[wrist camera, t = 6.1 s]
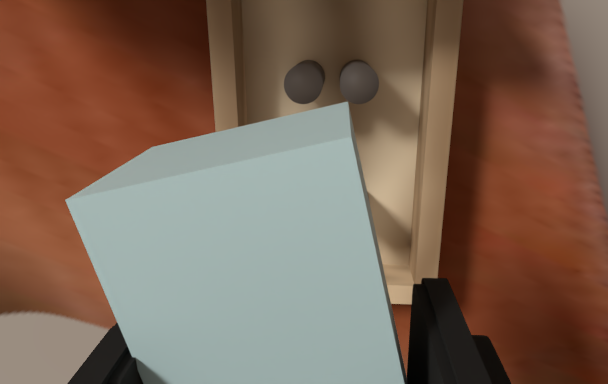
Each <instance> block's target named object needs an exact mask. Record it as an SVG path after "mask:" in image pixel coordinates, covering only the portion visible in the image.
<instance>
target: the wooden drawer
mask: <svg viewBox="0 0 608 384" xmlns="http://www.w3.org/2000/svg"><path fill="white" fill-rule="evenodd" d="M206 6H207V20H208V34H209V48H210V61H211V75H212V89H213V103H214V116H215V130H216V132H219V131H223V130H228V129H232V128H236V127H240V126H245V125H249V124H253V123H258V122H262V121H266V120H271V119H275V118H279V117H283V116H288V115H292V114H296V113H301V112H305V111H309V110H313V109H318V108H322V107H326V106H331V105H335V104H339V103H343V102H348V104H349V109H350V113H351V118H352V123H353V128H354V132H355V137H356V142H357V146H358V151H359V156H360V161H361V165H362V170H363V175H364V179H365V184H366V189H367V194H368V198H369V203H370V208H371V212H372V217H373V222H374V227H375V231H376V236H377V241H378V245H379V250H380V255H381V260H382V264H383V269H384V274H385V278H386V283H387V288H388V293H389V297H390V302H391V304H412V290H413V284H421V281H422V278H437V277H438V266H439V256H440V245H441V234H442V224H443V213H444V202H445V192H446V181H447V171H448V160H449V149H450V139H451V128H452V117H453V107H454V96H455V85H456V75H457V64H458V53H459V43H460V32H461V22H462V11H463V0H206Z"/></svg>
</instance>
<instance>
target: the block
mask: <svg viewBox="0 0 608 384" xmlns="http://www.w3.org/2000/svg"><path fill="white" fill-rule="evenodd" d="M65 201H66V203H67V205H68V208H69V210H70V212H71V215H72V217H73V219H74V222H75V224H76V227H77V229H78V231H79V234H80V236H81V238H82V241H83V243H84V245H85V248H86V250H87V252H88V255H89V257H90V259H91V262H92V264H93V266H94V269H95V271H96V273H97V276H98V278H99V280H100V283H101V285H102V287H103V290H104V292H105V295H106V297H107V299H108V302H109V304H110V306H111V309H112V311H113V313H114V316H115V318H116V320H117V323H118V325H119V327H120V330H121V332H122V334H123V337H124V339H125V341H126V344H127V346H128V348H129V351H130V353H131V356H132V357H136V363H137V369H138V372H139V374H140V377H141V379H142V381H143V384H407V377H406V373H405V368H404V363H403V359H402V354H401V349H400V344H399V340H398V335H397V330H396V326H395V321H394V316H393V311H392V307H391V302H390V297H389V293H388V288H387V283H386V278H385V274H384V269H383V264H382V260H381V255H380V250H379V245H378V241H377V236H376V231H375V227H374V222H373V217H372V212H371V208H370V203H369V198H368V194H367V189H366V184H365V179H364V175H363V170H362V165H361V161H360V156H359V151H358V146H357V142H356V137H355V132H354V128H353V123H352V118H351V113H350V109H349V104H348V102H343V103H339V104H335V105H331V106H326V107H322V108H318V109H313V110H309V111H305V112H301V113H296V114H292V115H288V116H283V117H279V118H275V119H271V120H266V121H262V122H258V123H253V124H249V125H245V126H240V127H236V128H232V129H228V130H223V131H219V132H215V133H210V134H206V135H202V136H198V137H193V138H189V139H185V140H180V141H176V142H172V143H168V144H163V145H159V146H155V147H152V148H150V149H148V150H147V151H145V152H143V153H142V154H140V155H138V156H137V157H135V158H134V159H132V160H130V161H129V162H127V163H125V164H124V165H122V166H120V167H119V168H117V169H116V170H114V171H112V172H111V173H109V174H107V175H106V176H104V177H102V178H101V179H99V180H98V181H96V182H94V183H93V184H91V185H89V186H88V187H86V188H84V189H83V190H81V191H80V192H78V193H76V194H75V195H73V196H71V197H70V198H68V199H66V200H65Z"/></svg>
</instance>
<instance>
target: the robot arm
mask: <svg viewBox="0 0 608 384" xmlns="http://www.w3.org/2000/svg"><path fill="white" fill-rule="evenodd" d="M68 384H143V381H142V379H141V377H140V374H139V372H138V369H137V363H136V357H132V356H131V353H130V351H129V348H128V346H127V344H126V341H125V339H124V337H123V334H122V332H121V330H120V327H119V325H118V323H116V325H115V326H113V327H112V328H111V329H110V330H109V331H108V332H107V334H106V335H105V336H104V338H103V339H102V340H101V341H100V343H99V344H98V345H97V346H96V348H95V349H94V350H93V352H92V353H91V354H90V355H89V357H88V358H87V360H86V361H85V362H84V363H83V365H82V366H81V367H80V368H79V370H78V371H77V372H76V373H75V375H74V376H73V377H72V379H71V380H70V381H69V382H68ZM407 384H511V382H510V380H509V378H508V376H507V374H506V372H505V370H504V367H503V365H502V363H501V361H500V359H499V357H498V355H497V353H496V351H495V349H494V347H493V345H492V343H491V341H490V339H489V338H488V337H487V336H483V335H471V333H470V331H469V329H468V326H467V324H466V322H465V319H464V317H463V315H462V312H461V310H460V307H459V305H458V303H457V300H456V298H455V296H454V293H453V291H452V289H451V286H450V284H449V282H448V280H447V279H446V278H422V281H421V284H413V290H412V305H411V321H410V336H409V352H408V368H407Z"/></svg>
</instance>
